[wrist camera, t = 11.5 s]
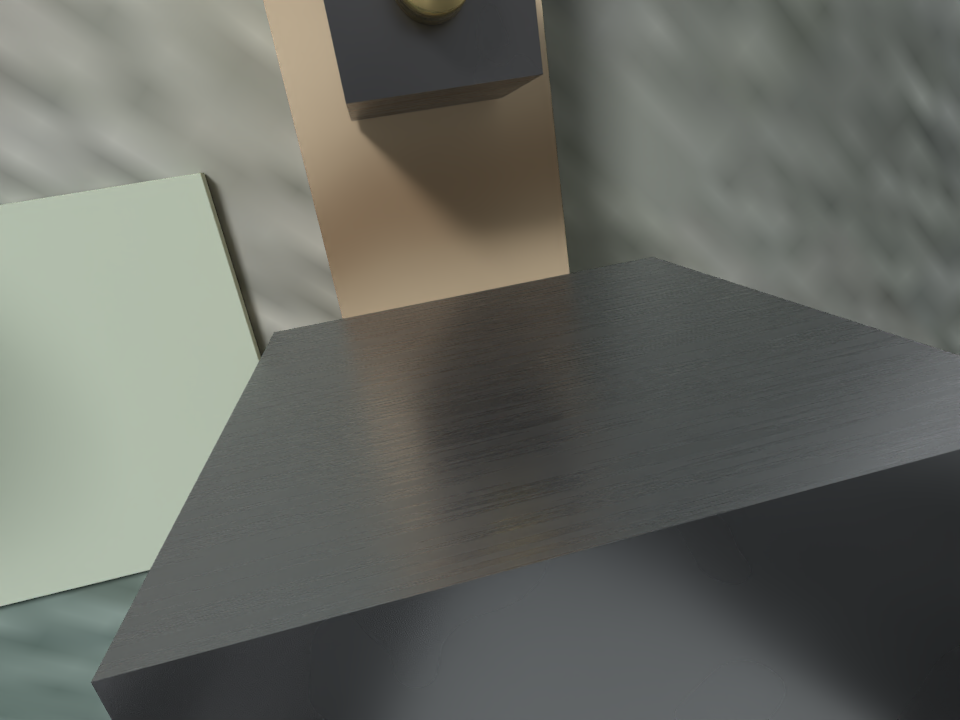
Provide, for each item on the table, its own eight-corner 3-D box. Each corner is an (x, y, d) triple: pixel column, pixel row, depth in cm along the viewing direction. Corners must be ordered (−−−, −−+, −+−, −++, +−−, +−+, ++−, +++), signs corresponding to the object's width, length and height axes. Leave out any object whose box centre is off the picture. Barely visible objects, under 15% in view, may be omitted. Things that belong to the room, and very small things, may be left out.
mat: (-235, 243, 14) (-251, 245, 14) (204, 172, 16) (200, 173, 16) (-23, 604, 19) (-31, 613, 18) (312, 523, 20) (311, 530, 20)
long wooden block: (210, -302, 13) (120, -572, 8) (443, -315, 14) (482, -573, 9) (402, 501, 20) (412, 599, 16) (547, 466, 21) (598, 549, 16)
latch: (314, -52, 10) (286, -167, 7) (480, -71, 11) (534, -189, 7) (351, 121, 11) (343, 97, 8) (501, 98, 12) (558, 65, 8)
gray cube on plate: (273, 332, 10) (90, 683, 3) (652, 256, 11) (1118, 407, 4) (375, 669, 12) (390, 1220, 6) (666, 587, 13) (953, 986, 7)
